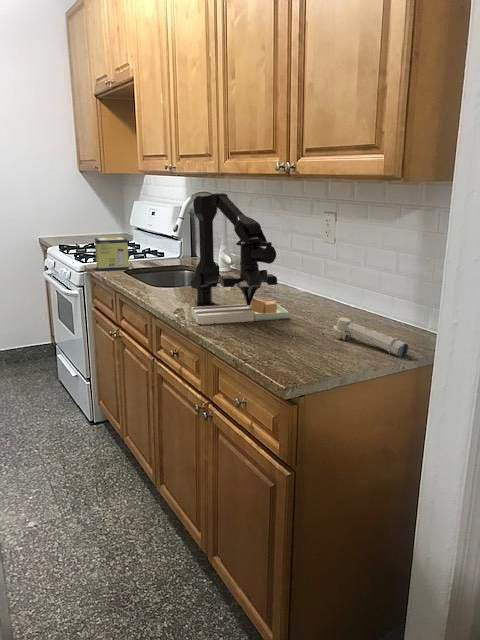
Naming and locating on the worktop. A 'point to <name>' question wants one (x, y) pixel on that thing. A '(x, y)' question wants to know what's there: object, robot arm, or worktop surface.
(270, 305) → the orange cube
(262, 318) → the tray
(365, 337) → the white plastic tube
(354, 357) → the worktop surface
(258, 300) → the orange-brown cube
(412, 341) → the worktop surface
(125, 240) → the protein box
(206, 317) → the slot board
